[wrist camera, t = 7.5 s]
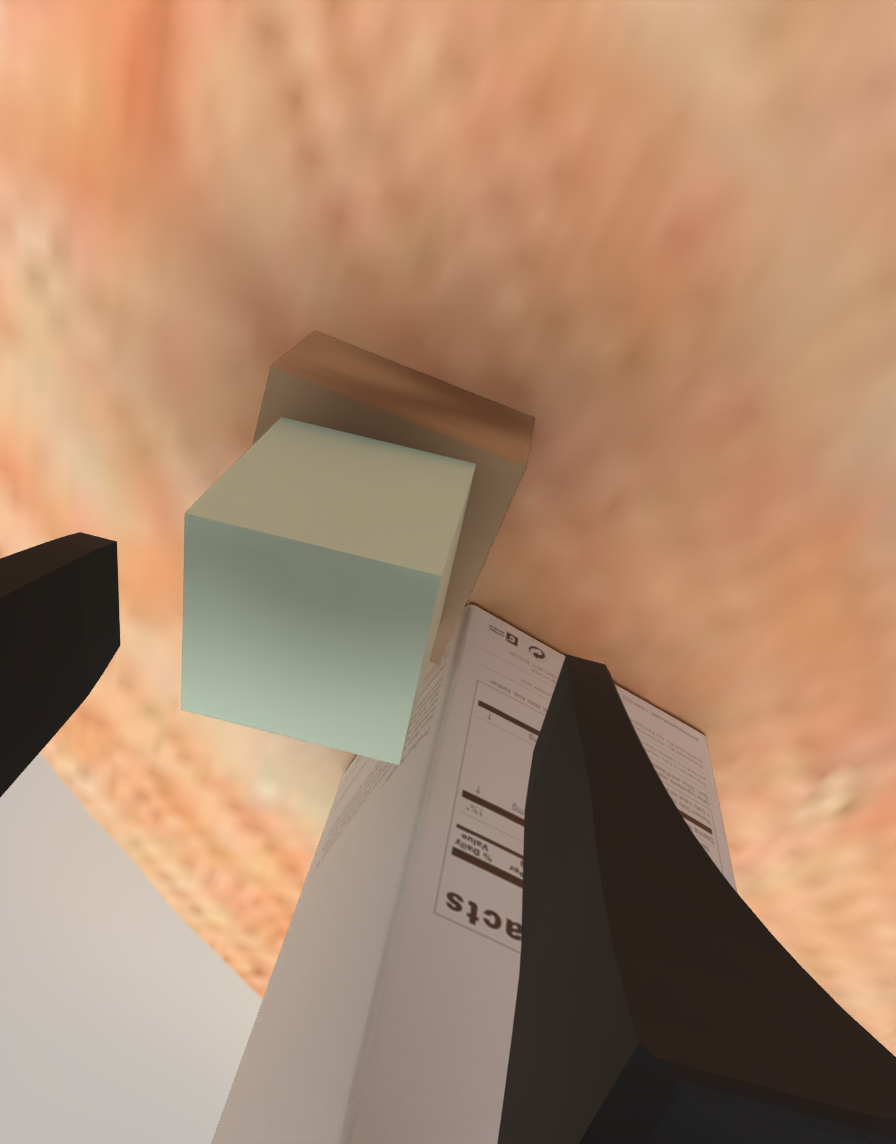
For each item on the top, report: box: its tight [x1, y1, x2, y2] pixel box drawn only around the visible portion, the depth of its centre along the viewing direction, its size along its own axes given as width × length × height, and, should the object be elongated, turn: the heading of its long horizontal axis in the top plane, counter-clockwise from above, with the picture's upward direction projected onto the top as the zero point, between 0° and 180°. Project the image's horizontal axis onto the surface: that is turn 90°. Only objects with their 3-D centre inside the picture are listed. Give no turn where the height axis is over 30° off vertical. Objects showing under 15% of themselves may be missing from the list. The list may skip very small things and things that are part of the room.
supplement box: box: [211, 605, 737, 1144], centre depth 20 cm, size 9×9×15 cm
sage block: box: [181, 417, 476, 765], centre depth 17 cm, size 4×4×5 cm
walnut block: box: [252, 331, 535, 665], centre depth 20 cm, size 6×6×4 cm
